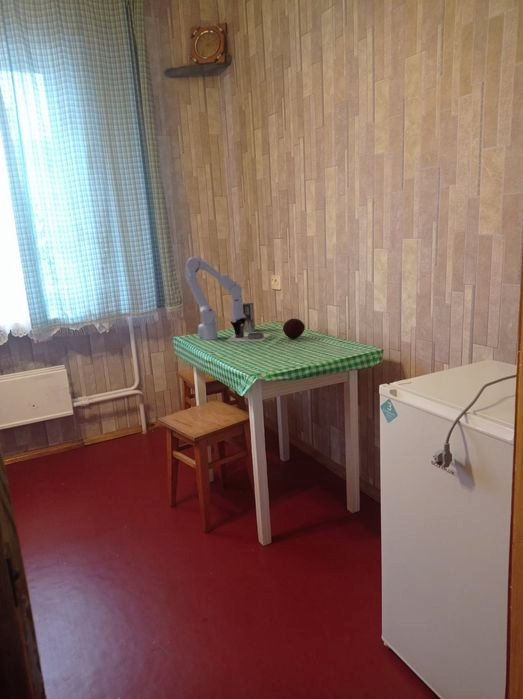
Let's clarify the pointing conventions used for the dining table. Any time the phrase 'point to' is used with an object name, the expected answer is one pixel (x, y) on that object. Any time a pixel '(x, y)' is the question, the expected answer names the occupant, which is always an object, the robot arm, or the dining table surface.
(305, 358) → the dining table surface
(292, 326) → the coconut
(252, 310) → the coffee box
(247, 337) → the mount board
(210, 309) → the robot arm
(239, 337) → the lens
